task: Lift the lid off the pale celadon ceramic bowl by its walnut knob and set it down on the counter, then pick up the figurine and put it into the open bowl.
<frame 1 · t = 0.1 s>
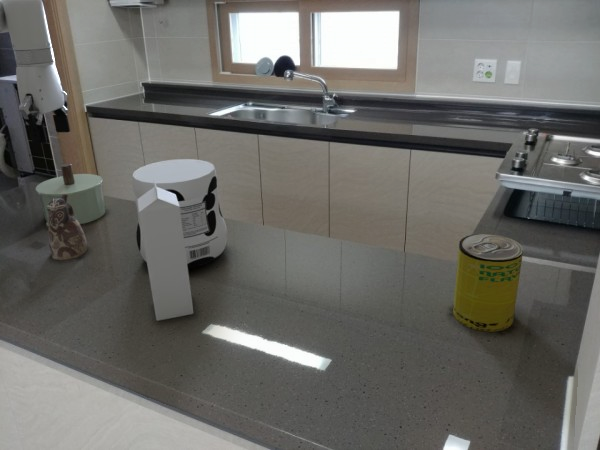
hand: (52, 137, 121), 20 cm above the worktop, tool pointing down, fingers open, 9 cm apart
figurine: (70, 252, 111), on the worktop
milk container: (185, 257, 107), on the worktop
bowl: (76, 215, 130), on the worktop
milk: (173, 309, 89), on the worktop
bowl lid: (70, 185, 127), point 7 cm above the worktop, touching bowl
beverage can: (482, 316, 84), on the worktop
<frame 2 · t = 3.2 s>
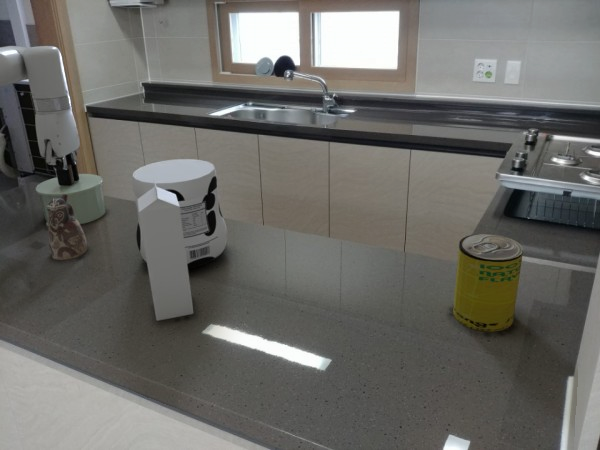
hand: (69, 182, 127), 8 cm above the worktop, tool pointing down, fingers closed on bowl lid, 2 cm apart
bowl lid: (70, 185, 127), point 8 cm above the worktop, touching bowl, gripper
everything else where it was.
when the fingers open (1 cm above the worktop, at t = 10.4 s): bowl lid stays where it is, point 1 cm above the worktop.
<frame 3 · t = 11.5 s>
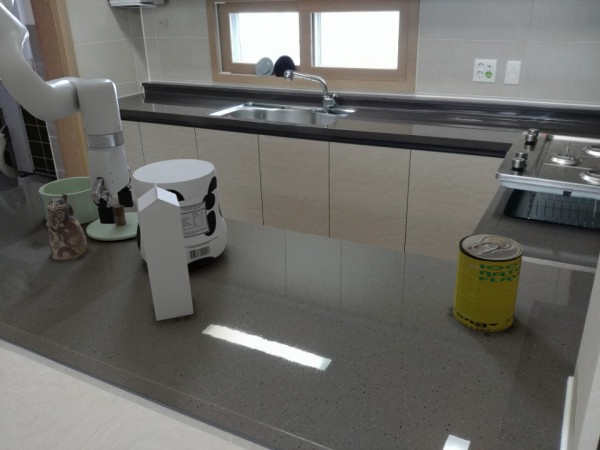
hand: (117, 214, 120), 3 cm above the worktop, tool pointing down, fingers open, 9 cm apart
bowl lid: (121, 226, 121), point 1 cm above the worktop
everything else where it was.
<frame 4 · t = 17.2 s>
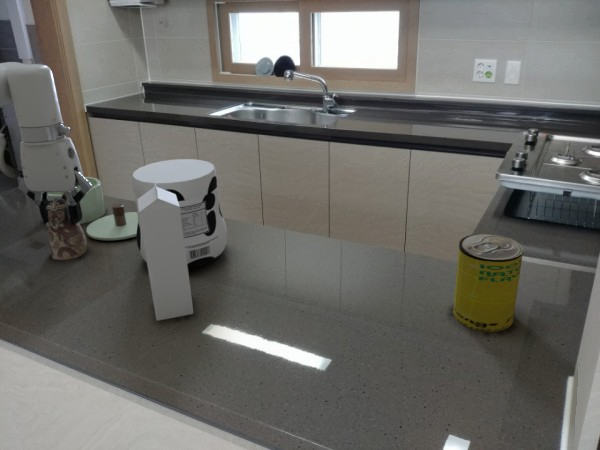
hand: (63, 221, 108), 7 cm above the worktop, tool pointing down, fingers closed on figurine, 5 cm apart
figurine: (70, 252, 111), on the worktop, touching gripper
everything else where it was.
when the fingers open (7 cm above the worktop, at t = 25.8 s): figurine stays where it is, resting on bowl.
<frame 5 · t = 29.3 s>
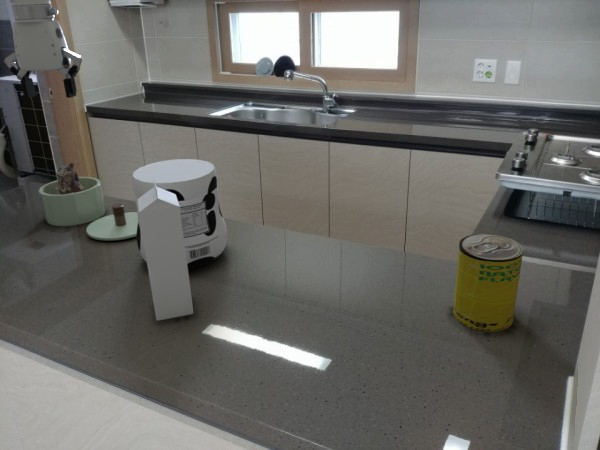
hand: (51, 97, 119), 28 cm above the worktop, tool pointing down, fingers open, 9 cm apart
figurine: (75, 213, 130), resting on bowl
everything else where it was.
at the end: bowl lid inside the target area (0.0 cm from its centre), point 0.6 cm above the worktop; figurine inside the target area in the bowl (0.1 cm from its centre), point 0.3 cm above the bowl's base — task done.
